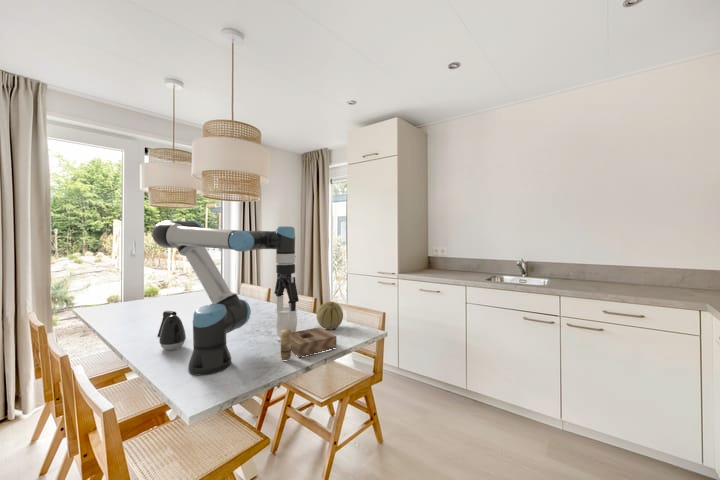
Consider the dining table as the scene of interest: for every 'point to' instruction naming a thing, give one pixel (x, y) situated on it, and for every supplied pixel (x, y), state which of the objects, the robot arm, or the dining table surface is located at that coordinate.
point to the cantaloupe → (329, 315)
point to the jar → (284, 322)
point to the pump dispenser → (172, 333)
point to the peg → (285, 344)
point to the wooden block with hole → (312, 341)
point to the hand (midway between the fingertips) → (285, 315)
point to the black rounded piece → (165, 315)
